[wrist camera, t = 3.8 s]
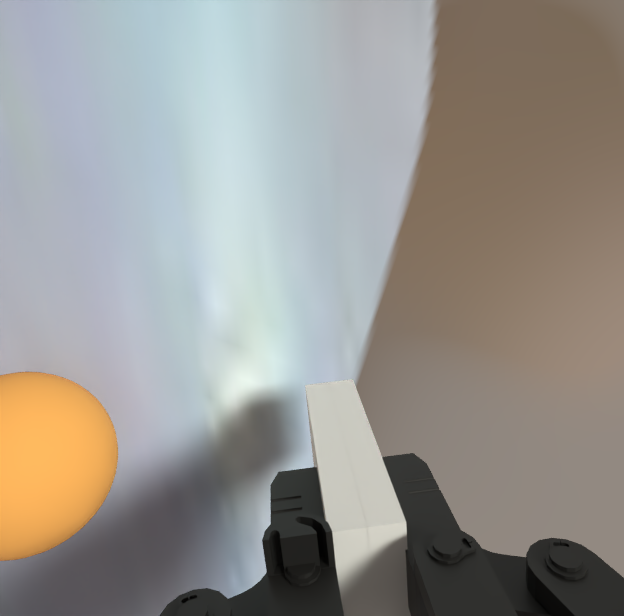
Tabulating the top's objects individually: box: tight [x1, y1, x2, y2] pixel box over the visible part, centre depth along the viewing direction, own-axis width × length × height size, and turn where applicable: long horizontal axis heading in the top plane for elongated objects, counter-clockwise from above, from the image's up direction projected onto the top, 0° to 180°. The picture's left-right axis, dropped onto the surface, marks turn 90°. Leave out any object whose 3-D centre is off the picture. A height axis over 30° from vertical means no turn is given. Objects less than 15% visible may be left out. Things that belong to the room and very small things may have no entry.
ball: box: [0, 372, 118, 561], centre depth 16 cm, size 6×6×6 cm
